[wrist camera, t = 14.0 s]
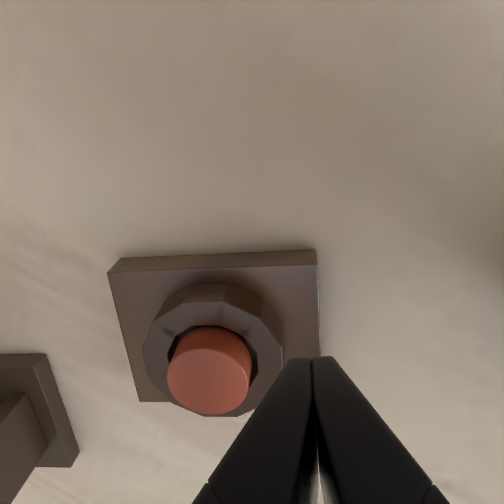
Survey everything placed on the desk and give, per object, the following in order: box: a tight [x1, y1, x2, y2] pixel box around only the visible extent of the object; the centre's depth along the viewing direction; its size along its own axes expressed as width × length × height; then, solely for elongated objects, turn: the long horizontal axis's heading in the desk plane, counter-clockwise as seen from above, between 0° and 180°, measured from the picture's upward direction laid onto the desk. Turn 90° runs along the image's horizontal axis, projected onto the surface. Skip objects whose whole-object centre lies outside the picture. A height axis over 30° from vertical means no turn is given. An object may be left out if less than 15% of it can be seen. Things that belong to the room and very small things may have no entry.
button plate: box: [107, 250, 321, 417], centre depth 21 cm, size 10×8×4 cm
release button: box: [166, 326, 252, 414], centre depth 19 cm, size 4×4×2 cm
